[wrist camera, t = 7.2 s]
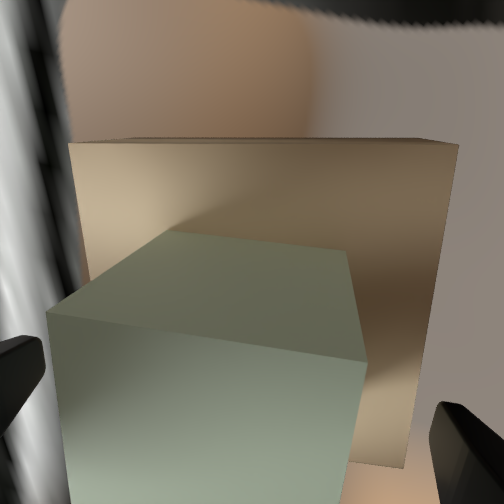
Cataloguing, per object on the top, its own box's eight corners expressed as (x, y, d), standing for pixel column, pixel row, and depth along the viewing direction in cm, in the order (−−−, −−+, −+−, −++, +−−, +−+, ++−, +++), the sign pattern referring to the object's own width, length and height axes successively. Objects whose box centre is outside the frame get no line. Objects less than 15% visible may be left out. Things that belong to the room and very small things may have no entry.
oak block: (383, 386, 16) (403, 469, 12) (159, 362, 17) (114, 429, 14) (417, 137, 12) (459, 144, 9) (135, 137, 14) (68, 143, 10)
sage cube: (321, 402, 12) (321, 590, 7) (168, 375, 12) (74, 529, 8) (345, 250, 10) (368, 363, 5) (167, 229, 11) (45, 311, 6)
